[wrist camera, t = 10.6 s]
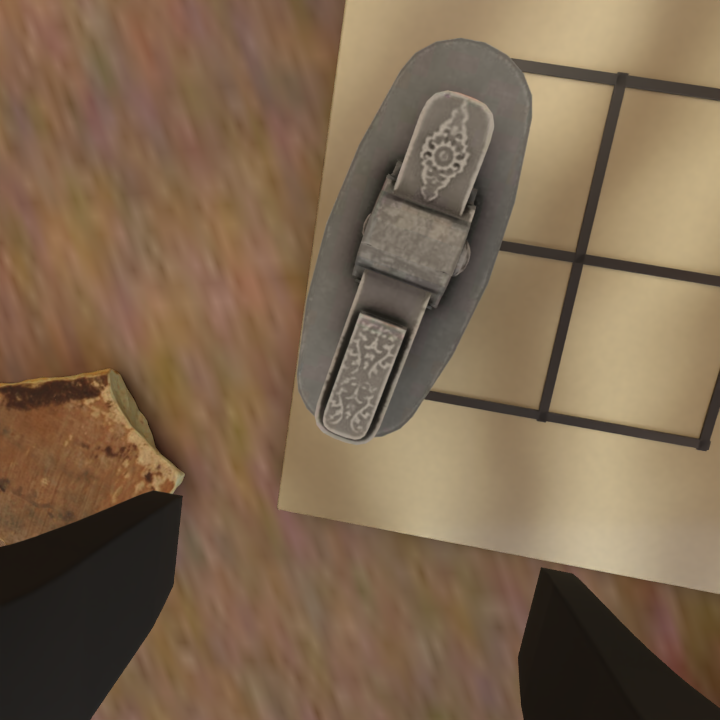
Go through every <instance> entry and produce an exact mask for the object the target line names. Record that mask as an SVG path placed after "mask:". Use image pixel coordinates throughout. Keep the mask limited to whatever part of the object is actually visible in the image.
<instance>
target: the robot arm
mask: <svg viewBox="0 0 720 720" xmlns="http://www.w3.org/2000/svg"><path fill="white" fill-rule="evenodd" d="M182 497H183V496H180V495H175V494H170V493H165V492H160V491H155V490H153V491H149V492H146V493H143V494H141V495H138V496H136V497H133V498H131V499H128V500H126V501H124V502H121V503H119V504H117V505H114V506H112V507H110V508H107V509H105V510H102V511H100V512H98V513H95V514H93V515H91V516H88V517H86V518H83V519H81V520H78V521H76V522H73V523H71V524H68V525H65V526H62V527H60V528H57V529H54V530H52V531H49V532H46V533H43V534H41V535H38V536H35V537H32V538H29V539H26V540H23V541H20V542H17V543H13V544H10V545H6V546H3V547H0V720H90V719H91V718H92V716H93V715H94V713H95V712H96V710H97V709H98V707H99V706H100V704H101V703H102V701H103V700H104V699H105V697H106V696H107V694H108V693H109V691H110V690H111V688H112V687H113V685H114V684H115V682H116V681H117V680H118V678H119V677H120V675H121V674H122V672H123V671H124V669H125V668H126V666H127V665H128V663H129V662H130V661H131V659H132V658H133V656H134V655H135V653H136V652H137V650H138V649H139V647H140V646H141V644H142V643H143V641H144V640H145V638H146V637H147V635H148V634H149V632H150V631H151V629H152V628H153V626H154V624H155V622H156V620H157V618H158V616H159V614H160V612H161V610H162V608H163V606H164V604H165V602H166V600H167V598H168V596H169V593H170V591H171V589H172V587H173V584H174V574H175V564H176V555H177V545H178V535H179V526H180V516H181V506H182ZM518 664H519V682H520V695H521V707H522V712H523V717H524V720H720V708H719V707H717V706H716V705H715V704H713V703H712V702H711V701H710V700H708V699H707V698H706V697H704V696H703V695H702V694H700V693H699V692H698V691H697V690H695V689H694V688H693V687H691V686H690V685H689V684H688V683H686V682H685V681H684V680H683V679H682V678H680V677H679V676H678V675H677V674H676V673H675V672H673V671H672V670H671V669H670V668H669V667H668V666H667V665H666V664H665V663H663V662H662V661H661V660H660V659H659V658H658V657H657V656H656V655H654V654H653V653H652V652H651V651H650V650H649V649H648V648H647V647H646V646H645V645H644V644H643V643H642V642H641V641H640V640H639V639H637V638H636V637H635V636H634V635H633V634H632V633H631V632H630V631H629V630H628V629H627V628H626V627H625V626H624V625H623V624H622V623H621V622H620V621H619V620H618V619H617V617H616V616H615V615H614V614H613V613H612V612H611V611H610V610H609V609H608V608H607V607H606V606H605V605H604V604H603V603H602V602H601V601H600V600H599V599H598V598H597V597H596V596H595V595H594V594H593V593H592V592H591V591H590V590H589V589H588V588H587V586H585V585H584V584H583V583H582V582H581V581H580V580H579V579H578V578H577V577H576V576H575V575H574V574H572V573H566V572H561V571H556V570H551V569H546V568H541V570H540V574H539V578H538V582H537V586H536V589H535V593H534V597H533V601H532V605H531V609H530V613H529V617H528V621H527V624H526V628H525V632H524V636H523V640H522V644H521V648H520V652H519V655H518Z"/></svg>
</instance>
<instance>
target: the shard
mask: <svg viewBox="0 0 720 720" xmlns="http://www.w3.org/2000/svg"><path fill="white" fill-rule="evenodd" d="M184 476H185V474H184V473H183V472H182V471H181V470H179V469H178V468H177V467H176V466H175V465H174V464H172V463H171V462H170V461H169V460H168V459H166V458H165V457H164V456H163V455H161V453H160V452H159V451H158V450H157V449H156V447H155V443H154V439H153V435H152V433H151V431H150V429H149V426H148V421H147V420H146V418H145V417H144V416H143V414H142V413H141V412H140V411H139V410H138V407H137V405H136V402H135V400H134V399H133V397H132V395H131V394H130V392H129V391H128V389H127V388H126V386H125V384H124V381H123V379H122V377H121V375H120V374H119V372H117V371H114V370H113V369H109V368H108V369H104V370H98V371H95V372H90V373H81V374H78V375H74V376H70V377H56V378H47V377H42V378H37V379H31V380H25V381H22V382H18V383H11V384H7V383H0V539H1V540H2V541H3V542H4V543H5V544H6V545H10V544H13V543H17V542H20V541H23V540H26V539H29V538H32V537H35V536H38V535H41V534H43V533H46V532H49V531H52V530H54V529H57V528H60V527H62V526H65V525H68V524H71V523H73V522H76V521H78V520H81V519H83V518H86V517H88V516H91V515H93V514H95V513H98V512H100V511H102V510H105V509H107V508H110V507H112V506H114V505H117V504H119V503H121V502H124V501H126V500H128V499H131V498H133V497H136V496H138V495H141V494H143V493H146V492H149V491H153V490H155V491H160V492H165V493H170V494H173V492H174V491H175V490H176V488H177V487H178V486H179V485H180V484H181V482H182V481H183V480H184V479H183V477H184Z"/></svg>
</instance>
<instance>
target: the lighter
mask: <svg viewBox="0 0 720 720" xmlns="http://www.w3.org/2000/svg"><path fill="white" fill-rule="evenodd" d="M531 121H532V94H531V91H530V88H529V86H528V83H527V81H526V78H525V76H524V73H523V72H522V71H521V70H520V69H519V67H518V66H517V65H516V64H515V63H514V62H513V61H512V59H511V58H510V57H509V56H508V55H507V54H505V53H503V52H502V51H500V50H498V49H496V48H495V47H493V46H491V45H489V44H487V43H486V42H481V41H475V40H470V39H465V38H455V39H449V40H442V41H436V42H434V43H432V44H430V45H429V46H427V47H425V48H423V49H421V50H419V51H418V52H416V53H415V54H414V55H413V56H412V57H411V58H410V59H409V61H408V62H407V63H406V64H405V65H404V66H403V68H402V69H401V70H400V72H399V74H398V75H397V77H396V79H395V81H394V83H393V84H392V86H391V88H390V90H389V92H388V93H387V95H386V97H385V99H384V101H383V102H382V104H381V106H380V108H379V110H378V111H377V113H376V115H375V117H374V119H373V120H372V122H371V124H370V126H369V127H368V129H367V131H366V133H365V135H364V136H363V138H362V140H361V142H360V144H359V146H358V148H357V150H356V153H355V155H354V158H353V160H352V163H351V165H350V167H349V170H348V172H347V175H346V177H345V179H344V182H343V184H342V187H341V189H340V191H339V194H338V196H337V199H336V201H335V204H334V206H333V208H332V211H331V213H330V216H329V218H328V220H327V223H326V226H325V230H324V234H323V238H322V242H321V246H320V250H319V253H318V257H317V261H316V265H315V269H314V273H313V277H312V281H311V284H310V288H309V292H308V296H307V300H306V306H305V314H304V321H303V329H302V336H301V344H300V351H299V359H298V366H297V384H298V392H299V394H300V396H301V398H302V400H303V402H304V404H305V406H306V408H307V409H308V410H309V412H310V413H311V414H312V415H313V416H314V417H315V420H316V424H317V426H318V427H319V428H320V430H321V431H322V432H323V433H325V434H327V435H328V436H330V437H332V438H334V439H337V440H340V441H342V442H345V443H349V444H354V445H360V444H366V443H368V442H369V441H370V440H371V439H373V438H374V437H383V436H385V435H387V434H390V433H392V432H394V431H397V430H399V429H401V428H402V427H403V426H404V425H405V424H406V423H407V422H408V421H409V420H410V419H411V418H412V417H413V416H414V414H415V413H416V411H417V410H418V408H419V406H420V405H421V403H422V402H423V400H424V399H425V397H426V396H427V394H428V393H429V391H430V390H431V388H432V387H433V385H434V384H435V382H436V380H437V379H438V377H439V376H440V374H441V373H442V371H443V370H444V368H445V367H446V365H447V364H448V362H449V361H450V359H451V358H452V356H453V354H454V352H455V350H456V348H457V346H458V344H459V342H460V340H461V338H462V336H463V334H464V332H465V330H466V328H467V326H468V324H469V322H470V320H471V318H472V316H473V313H474V311H475V309H476V307H477V305H478V303H479V301H480V299H481V297H482V295H483V293H484V291H485V289H486V287H487V285H488V283H489V280H490V277H491V274H492V271H493V268H494V265H495V262H496V259H497V255H498V252H499V249H500V246H501V243H502V240H503V237H504V234H505V231H506V228H507V225H508V222H509V219H510V216H511V213H512V210H513V207H514V204H515V200H516V195H517V190H518V185H519V180H520V175H521V170H522V165H523V161H524V156H525V151H526V146H527V141H528V136H529V131H530V126H531Z"/></svg>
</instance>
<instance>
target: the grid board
mask: <svg viewBox="0 0 720 720" xmlns="http://www.w3.org/2000/svg"><path fill="white" fill-rule="evenodd" d="M455 38H465V39H470V40H475V41H481V42H486V43H487V44H489V45H491V46H493V47H495V48H496V49H498V50H500V51H502V52H503V53H505V54H507V55H508V56H509V57H510V58H511V59H512V61H513V62H514V63H515V64H516V65H517V66H518V67H519V69H520V70H521V71H522V72H523V73H524V76H525V78H526V81H527V83H528V86H529V88H530V91H531V94H532V121H531V126H530V131H529V136H528V141H527V146H526V151H525V156H524V161H523V165H522V170H521V175H520V180H519V185H518V190H517V195H516V200H515V204H514V207H513V210H512V213H511V216H510V219H509V222H508V225H507V228H506V231H505V234H504V237H503V240H502V243H501V246H500V249H499V252H498V255H497V259H496V262H495V265H494V268H493V271H492V274H491V277H490V280H489V283H488V285H487V287H486V289H485V291H484V293H483V295H482V297H481V299H480V301H479V303H478V305H477V307H476V309H475V311H474V313H473V316H472V318H471V320H470V322H469V324H468V326H467V328H466V330H465V332H464V334H463V336H462V338H461V340H460V342H459V344H458V346H457V348H456V350H455V352H454V354H453V356H452V358H451V359H450V361H449V362H448V364H447V365H446V367H445V368H444V370H443V371H442V373H441V374H440V376H439V377H438V379H437V380H436V382H435V384H434V385H433V387H432V388H431V390H430V391H429V393H428V394H427V396H426V397H425V399H424V400H423V402H422V403H421V405H420V406H419V408H418V410H417V411H416V413H415V414H414V416H413V417H412V418H411V419H410V420H409V421H408V422H407V423H406V424H405V425H404V426H403V427H402V428H401V429H399V430H397V431H394V432H392V433H390V434H387V435H385V436H383V437H374V438H373V439H371V440H370V441H369V442H368V443H366V444H360V445H354V444H349V443H345V442H342V441H340V440H337V439H334V438H332V437H330V436H328V435H327V434H325V433H323V432H322V431H321V430H320V428H319V427H318V426H317V424H316V420H315V417H314V416H313V415H312V414H311V413H310V412H309V410H308V409H307V408H306V406H305V404H304V402H303V400H302V398H301V396H300V394H299V392H298V384H297V366H298V359H299V351H300V344H301V336H302V329H303V321H304V314H305V306H306V300H307V296H308V292H309V288H310V284H311V281H312V277H313V273H314V269H315V265H316V261H317V257H318V253H319V250H320V246H321V242H322V238H323V234H324V230H325V226H326V223H327V220H328V218H329V216H330V213H331V211H332V208H333V206H334V204H335V201H336V199H337V196H338V194H339V191H340V189H341V187H342V184H343V182H344V179H345V177H346V175H347V172H348V170H349V167H350V165H351V163H352V160H353V158H354V155H355V153H356V150H357V148H358V146H359V144H360V142H361V140H362V138H363V136H364V135H365V133H366V131H367V129H368V127H369V126H370V124H371V122H372V120H373V119H374V117H375V115H376V113H377V111H378V110H379V108H380V106H381V104H382V102H383V101H384V99H385V97H386V95H387V93H388V92H389V90H390V88H391V86H392V84H393V83H394V81H395V79H396V77H397V75H398V74H399V72H400V70H401V69H402V68H403V66H404V65H405V64H406V63H407V62H408V61H409V59H410V58H411V57H412V56H413V55H414V54H415V53H416V52H418V51H419V50H421V49H423V48H425V47H427V46H429V45H430V44H432V43H434V42H436V41H442V40H449V39H455ZM277 509H279V510H284V511H289V512H294V513H300V514H305V515H310V516H315V517H320V518H326V519H331V520H336V521H341V522H347V523H352V524H357V525H362V526H367V527H373V528H378V529H383V530H388V531H393V532H399V533H404V534H409V535H414V536H419V537H425V538H430V539H435V540H440V541H446V542H451V543H456V544H461V545H466V546H472V547H477V548H482V549H487V550H492V551H498V552H503V553H508V554H513V555H518V556H524V557H529V558H534V559H539V560H545V561H550V562H555V563H560V564H565V565H571V566H576V567H581V568H586V569H591V570H597V571H602V572H607V573H612V574H617V575H623V576H628V577H633V578H638V579H644V580H649V581H654V582H659V583H664V584H670V585H675V586H680V587H685V588H690V589H696V590H701V591H706V592H711V593H716V594H720V0H346V1H345V9H344V16H343V24H342V31H341V38H340V46H339V53H338V60H337V68H336V75H335V83H334V90H333V97H332V105H331V112H330V120H329V127H328V134H327V142H326V149H325V157H324V164H323V171H322V179H321V186H320V194H319V201H318V208H317V216H316V223H315V231H314V238H313V245H312V253H311V260H310V267H309V275H308V282H307V290H306V297H305V304H304V312H303V319H302V327H301V334H300V341H299V349H298V356H297V364H296V371H295V378H294V386H293V393H292V401H291V408H290V415H289V423H288V430H287V437H286V445H285V452H284V460H283V467H282V474H281V482H280V489H279V497H278V504H277Z"/></svg>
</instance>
